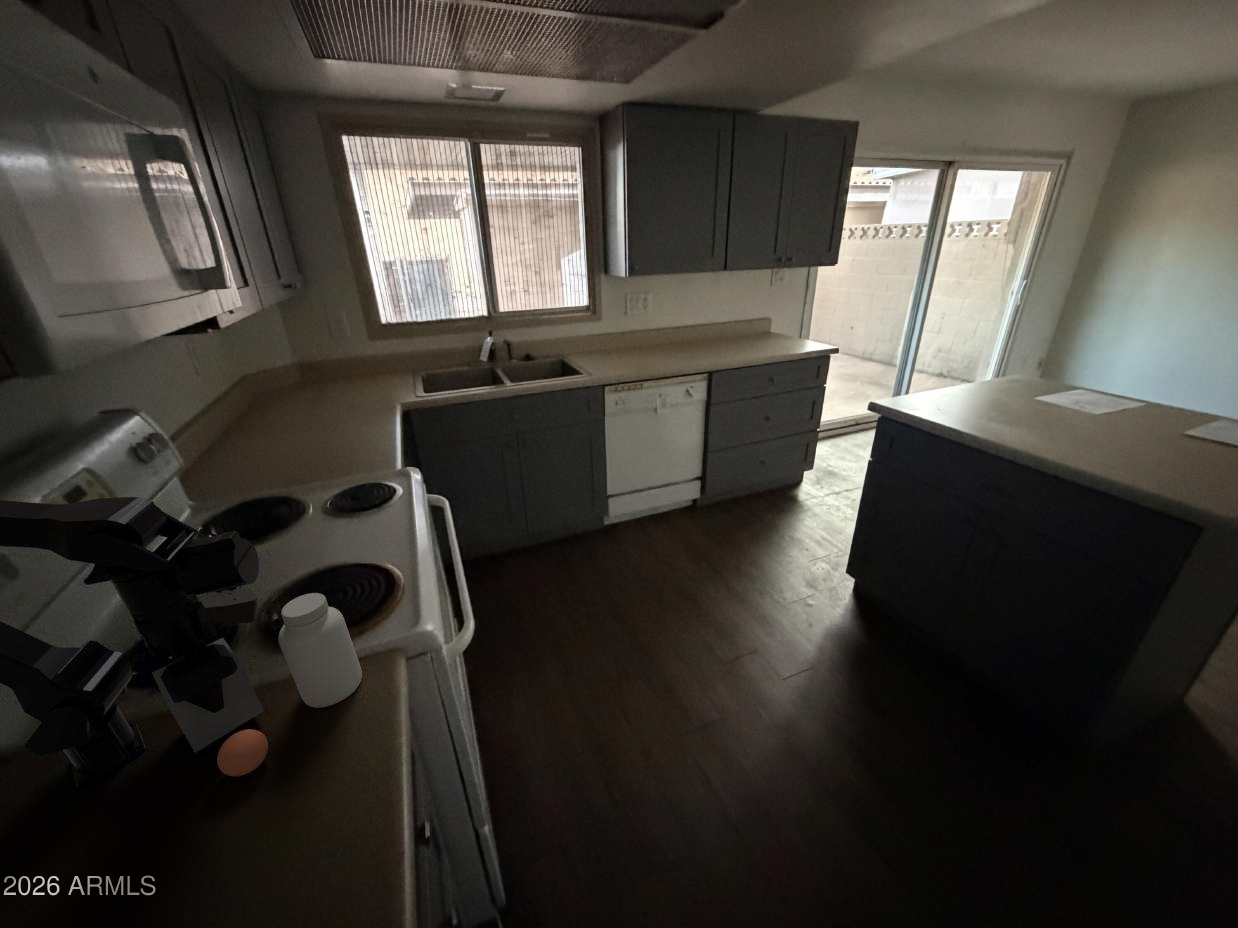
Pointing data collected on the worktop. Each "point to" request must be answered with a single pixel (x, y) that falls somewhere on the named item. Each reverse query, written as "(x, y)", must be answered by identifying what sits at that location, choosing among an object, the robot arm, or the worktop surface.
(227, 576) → the robot arm
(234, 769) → the ball
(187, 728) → the grey cube
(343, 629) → the pill bottle
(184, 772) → the worktop surface
